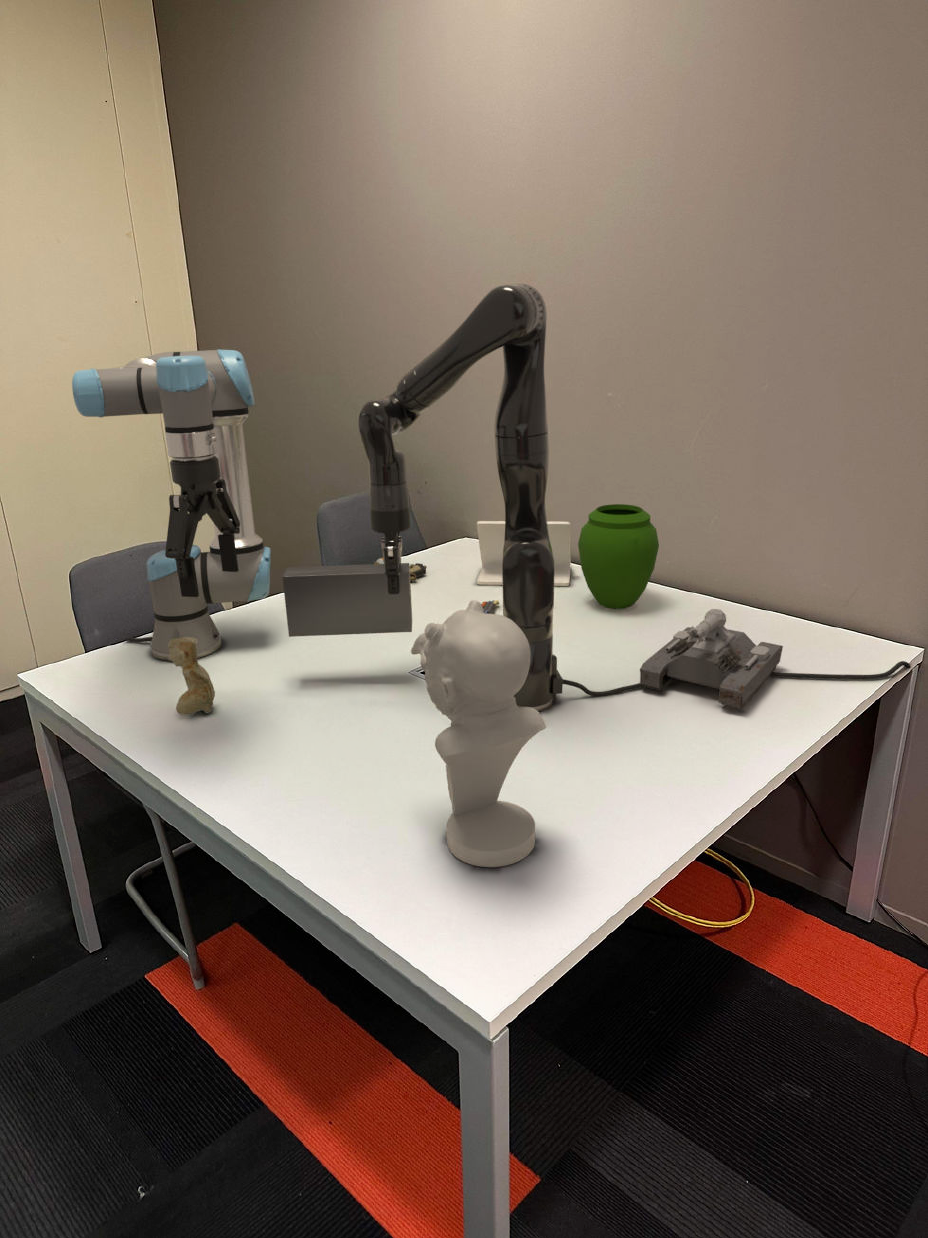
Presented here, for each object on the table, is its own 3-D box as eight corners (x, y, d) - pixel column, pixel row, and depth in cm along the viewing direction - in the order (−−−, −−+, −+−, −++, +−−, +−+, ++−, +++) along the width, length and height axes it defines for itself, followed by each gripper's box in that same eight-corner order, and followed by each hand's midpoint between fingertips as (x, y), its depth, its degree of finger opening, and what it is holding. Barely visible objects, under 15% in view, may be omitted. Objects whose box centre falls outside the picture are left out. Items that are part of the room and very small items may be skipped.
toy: (687, 648, 187) (692, 583, 181) (780, 668, 176) (788, 599, 170) (638, 690, 168) (641, 619, 162) (739, 715, 157) (746, 640, 151)
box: (288, 636, 169) (282, 576, 164) (293, 625, 174) (287, 567, 170) (411, 632, 169) (408, 572, 165) (412, 621, 175) (409, 562, 171)
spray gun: (433, 575, 243) (402, 592, 232) (386, 564, 251) (354, 580, 240) (433, 561, 241) (402, 577, 230) (386, 550, 249) (353, 565, 238)
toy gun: (446, 621, 200) (487, 617, 198) (461, 599, 218) (499, 596, 216) (447, 632, 201) (489, 629, 198) (462, 609, 218) (500, 606, 216)
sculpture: (181, 705, 167) (169, 634, 162) (218, 702, 168) (208, 632, 162) (175, 719, 162) (163, 646, 156) (213, 716, 162) (203, 643, 157)
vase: (599, 587, 227) (601, 497, 218) (668, 600, 216) (673, 505, 208) (562, 608, 212) (564, 513, 204) (634, 623, 202) (639, 523, 193)
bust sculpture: (481, 772, 140) (476, 569, 128) (565, 848, 120) (569, 617, 108) (392, 800, 134) (378, 588, 121) (465, 886, 114) (457, 642, 101)
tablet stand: (569, 585, 229) (570, 524, 223) (476, 584, 232) (475, 523, 226) (570, 566, 246) (571, 508, 240) (484, 564, 249) (483, 507, 243)
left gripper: (172, 472, 124) (193, 609, 132) (250, 444, 147) (264, 562, 155) (127, 471, 126) (149, 606, 134) (211, 444, 149) (226, 560, 156)
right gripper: (408, 513, 157) (413, 599, 163) (410, 496, 170) (414, 576, 176) (367, 514, 157) (373, 601, 162) (372, 497, 170) (377, 577, 176)
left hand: (211, 583), depth 144 cm, fingers open, 13 cm apart
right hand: (394, 587), depth 169 cm, fingers closed on box, 6 cm apart
